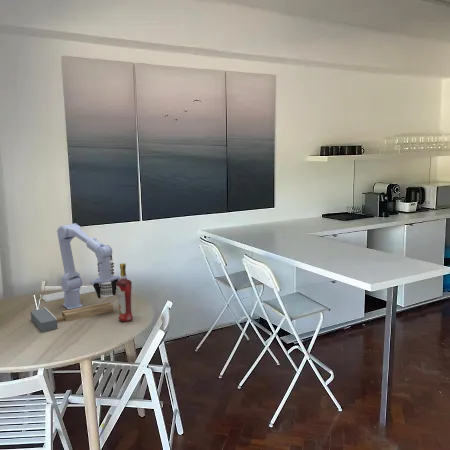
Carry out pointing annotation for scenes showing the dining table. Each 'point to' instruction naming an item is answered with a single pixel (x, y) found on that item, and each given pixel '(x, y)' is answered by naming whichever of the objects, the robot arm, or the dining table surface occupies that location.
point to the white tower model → (107, 283)
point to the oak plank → (85, 312)
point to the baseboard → (61, 294)
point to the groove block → (44, 320)
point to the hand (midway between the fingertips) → (106, 296)
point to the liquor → (124, 295)
